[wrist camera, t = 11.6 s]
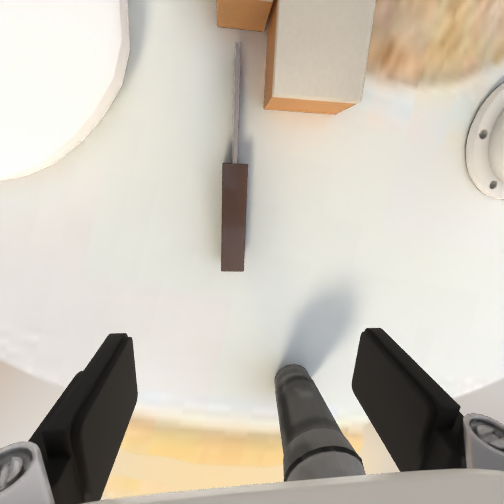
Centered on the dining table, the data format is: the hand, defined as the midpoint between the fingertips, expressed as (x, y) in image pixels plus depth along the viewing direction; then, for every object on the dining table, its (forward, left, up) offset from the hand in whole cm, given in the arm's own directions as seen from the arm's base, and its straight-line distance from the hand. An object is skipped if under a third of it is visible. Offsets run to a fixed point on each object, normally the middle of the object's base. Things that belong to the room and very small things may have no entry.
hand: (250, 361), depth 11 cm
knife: (0, -7, -18) cm, 20 cm away
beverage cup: (-8, +18, -18) cm, 27 cm away
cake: (-6, -17, -18) cm, 26 cm away
